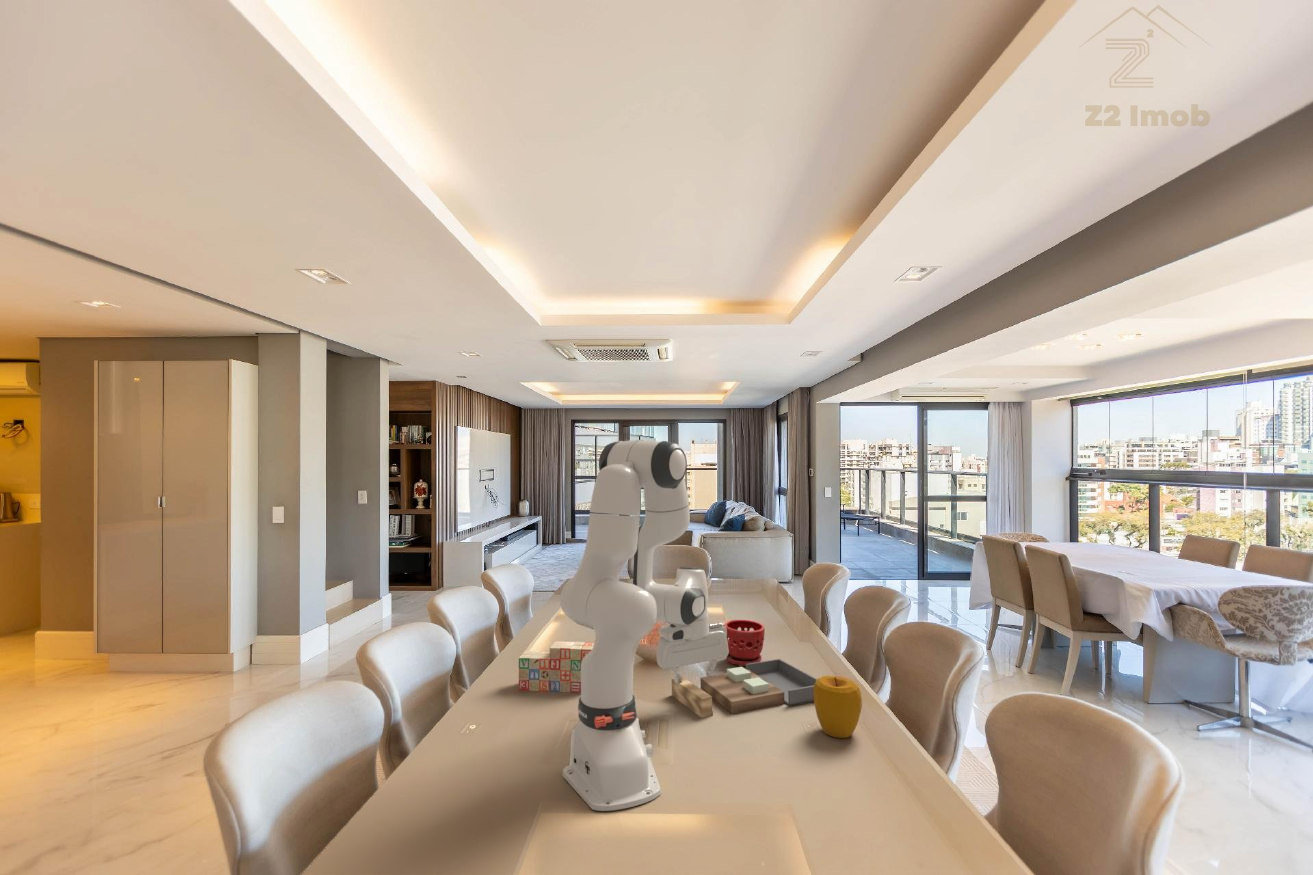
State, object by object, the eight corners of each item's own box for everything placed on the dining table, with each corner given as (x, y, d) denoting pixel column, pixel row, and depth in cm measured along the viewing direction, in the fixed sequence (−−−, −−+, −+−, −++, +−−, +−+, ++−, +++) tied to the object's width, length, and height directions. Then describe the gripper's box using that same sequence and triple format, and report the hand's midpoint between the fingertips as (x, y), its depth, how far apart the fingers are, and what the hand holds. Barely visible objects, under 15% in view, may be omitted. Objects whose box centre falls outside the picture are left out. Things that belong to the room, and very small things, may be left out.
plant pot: (722, 667, 175) (721, 628, 176) (726, 653, 188) (726, 618, 188) (764, 670, 172) (763, 631, 173) (766, 656, 185) (765, 620, 185)
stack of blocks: (517, 690, 158) (518, 646, 158) (525, 682, 164) (525, 640, 165) (591, 693, 156) (591, 648, 156) (596, 684, 162) (596, 641, 163)
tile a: (768, 691, 148) (768, 683, 148) (752, 694, 146) (752, 686, 146) (758, 684, 153) (758, 677, 153) (743, 687, 151) (742, 679, 151)
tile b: (751, 679, 157) (750, 672, 157) (735, 682, 155) (735, 674, 155) (741, 673, 161) (741, 666, 161) (726, 676, 159) (726, 669, 159)
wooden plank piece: (713, 716, 141) (712, 696, 141) (702, 719, 139) (701, 698, 140) (682, 693, 155) (681, 675, 155) (671, 696, 154) (671, 677, 154)
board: (784, 703, 148) (784, 691, 148) (732, 713, 142) (731, 701, 142) (748, 679, 164) (748, 669, 164) (700, 688, 158) (700, 677, 158)
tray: (826, 698, 150) (826, 683, 151) (789, 706, 146) (789, 690, 146) (779, 671, 171) (779, 658, 171) (746, 677, 166) (745, 663, 166)
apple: (860, 725, 135) (859, 671, 136) (864, 746, 124) (863, 688, 125) (813, 720, 138) (812, 667, 138) (814, 740, 127) (812, 683, 128)
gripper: (720, 618, 156) (722, 668, 155) (653, 629, 148) (654, 681, 147) (732, 624, 150) (733, 676, 149) (663, 635, 142) (664, 690, 141)
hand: (694, 679), depth 148 cm, fingers open, 8 cm apart
